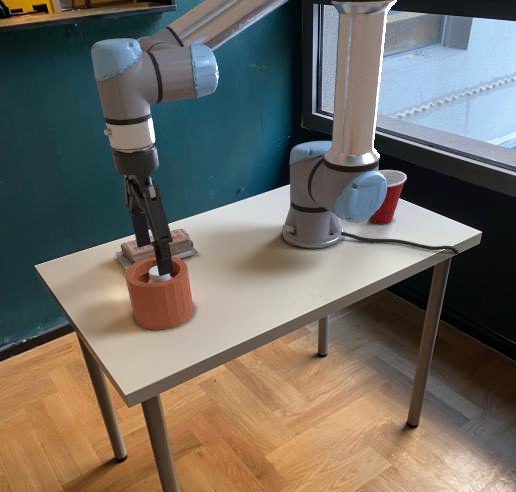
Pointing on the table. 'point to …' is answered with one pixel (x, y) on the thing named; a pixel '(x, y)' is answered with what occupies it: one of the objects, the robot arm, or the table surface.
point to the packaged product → (133, 254)
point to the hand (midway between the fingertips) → (154, 258)
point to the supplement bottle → (157, 276)
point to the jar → (159, 295)
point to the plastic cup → (389, 196)
